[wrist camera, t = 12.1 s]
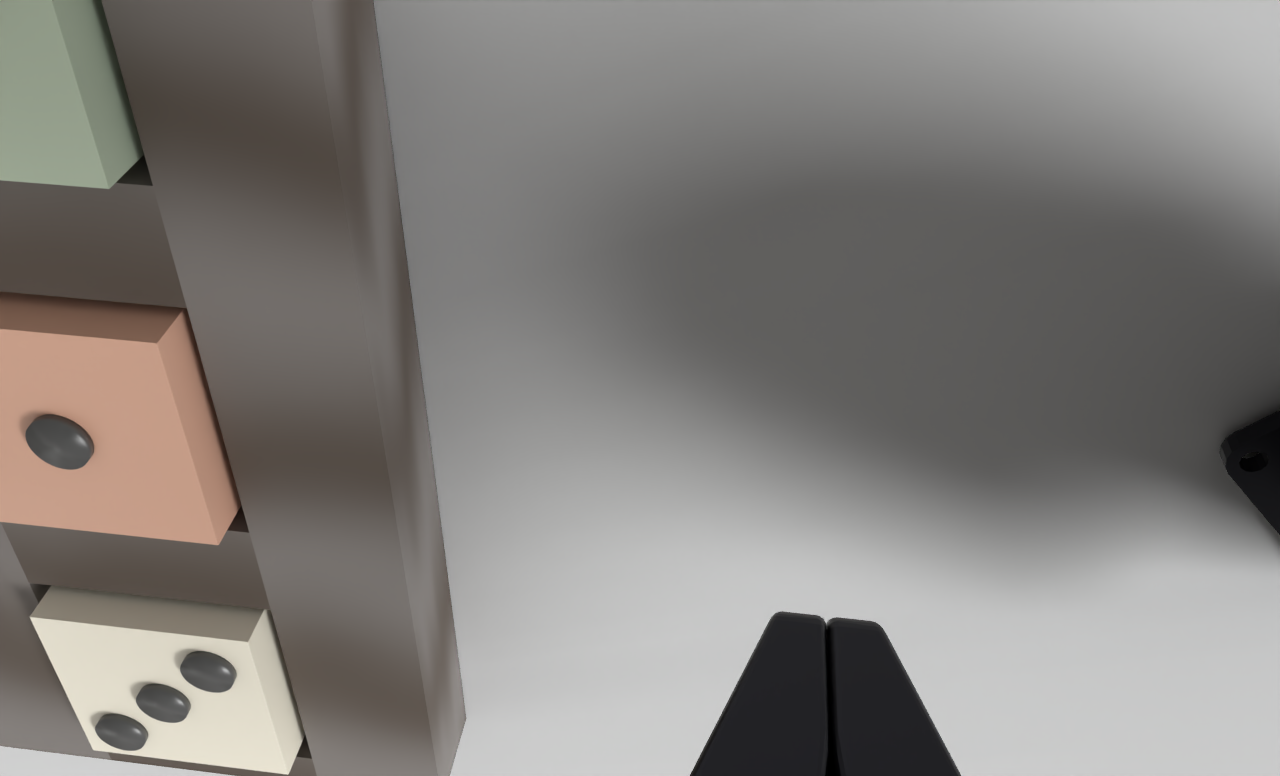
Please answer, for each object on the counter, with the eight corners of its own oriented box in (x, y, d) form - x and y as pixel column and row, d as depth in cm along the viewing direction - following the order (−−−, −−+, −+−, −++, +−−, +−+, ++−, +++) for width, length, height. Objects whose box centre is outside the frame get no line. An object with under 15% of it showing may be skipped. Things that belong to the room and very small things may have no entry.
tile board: (-447, -346, 17) (-609, -323, 15) (331, -316, 16) (264, -287, 14) (45, 668, 32) (-5, 745, 30) (465, 718, 31) (442, 801, 29)
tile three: (100, 514, 28) (24, 624, 25) (300, 536, 27) (244, 649, 25) (152, 647, 31) (88, 757, 28) (332, 668, 30) (285, 781, 28)
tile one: (-11, 226, 23) (-121, 324, 20) (231, 246, 22) (151, 350, 20) (64, 419, 26) (-23, 526, 23) (278, 440, 25) (214, 552, 23)
